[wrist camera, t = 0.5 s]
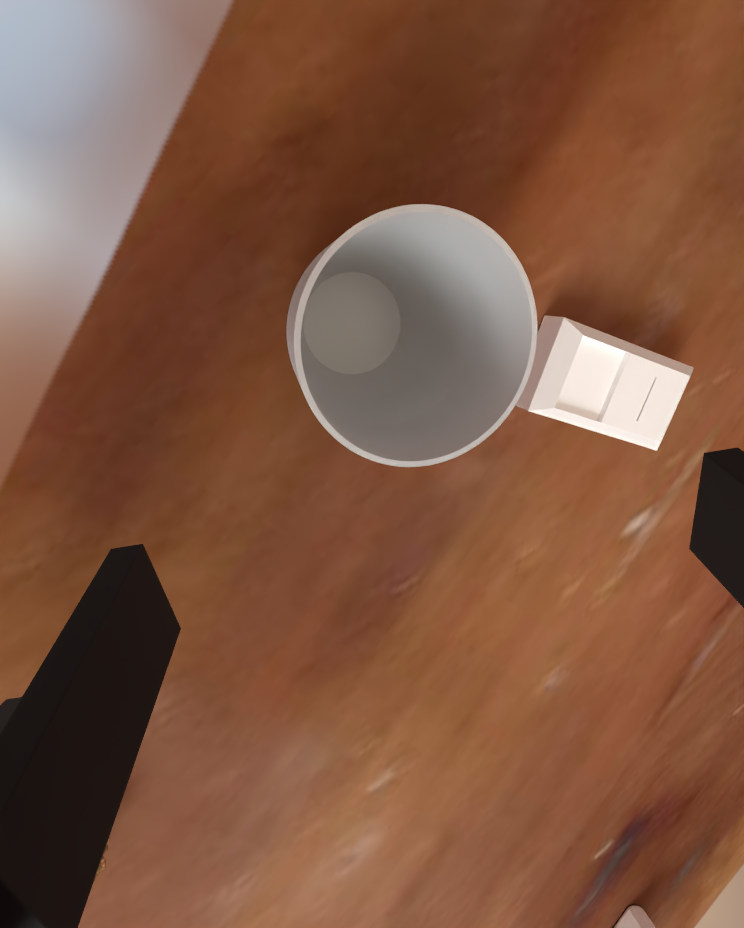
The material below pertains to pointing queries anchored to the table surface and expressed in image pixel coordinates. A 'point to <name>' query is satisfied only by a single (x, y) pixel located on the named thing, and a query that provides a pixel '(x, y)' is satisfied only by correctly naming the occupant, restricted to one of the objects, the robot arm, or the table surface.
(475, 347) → the cup
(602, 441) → the table surface
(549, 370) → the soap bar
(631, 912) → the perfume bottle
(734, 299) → the table surface
